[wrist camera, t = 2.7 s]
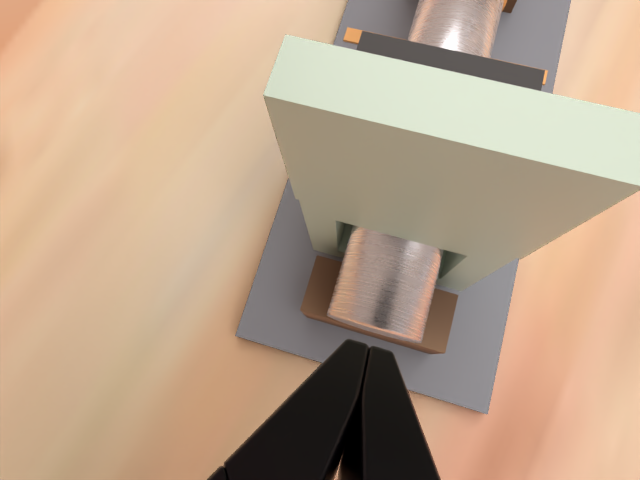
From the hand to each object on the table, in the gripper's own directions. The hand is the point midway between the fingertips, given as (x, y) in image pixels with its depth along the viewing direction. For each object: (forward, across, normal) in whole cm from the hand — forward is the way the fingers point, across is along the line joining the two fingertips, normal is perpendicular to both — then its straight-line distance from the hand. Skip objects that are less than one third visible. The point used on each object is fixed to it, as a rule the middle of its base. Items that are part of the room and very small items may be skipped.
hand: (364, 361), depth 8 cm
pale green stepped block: (+10, 0, +2) cm, 11 cm away
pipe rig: (+15, 0, 0) cm, 15 cm away
